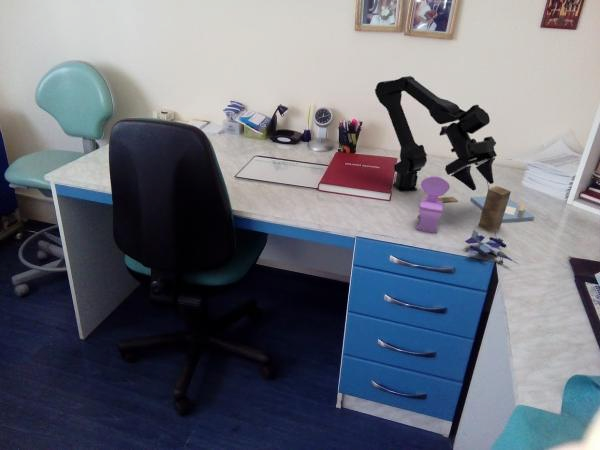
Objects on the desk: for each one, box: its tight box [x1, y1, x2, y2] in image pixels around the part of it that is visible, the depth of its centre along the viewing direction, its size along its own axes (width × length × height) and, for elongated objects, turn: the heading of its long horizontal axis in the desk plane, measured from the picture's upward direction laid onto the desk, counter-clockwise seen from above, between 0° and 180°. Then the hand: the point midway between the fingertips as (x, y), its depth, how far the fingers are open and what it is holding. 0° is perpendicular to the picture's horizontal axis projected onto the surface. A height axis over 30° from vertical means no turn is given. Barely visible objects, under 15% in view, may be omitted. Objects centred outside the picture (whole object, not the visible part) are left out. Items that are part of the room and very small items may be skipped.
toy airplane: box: [464, 229, 519, 265], centre depth 128 cm, size 13×14×4 cm
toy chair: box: [415, 175, 451, 234], centre depth 139 cm, size 8×9×15 cm
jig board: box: [470, 195, 535, 224], centre depth 154 cm, size 13×16×4 cm
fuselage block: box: [477, 185, 512, 233], centre depth 141 cm, size 5×5×12 cm
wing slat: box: [437, 196, 459, 204], centre depth 159 cm, size 9×3×1 cm, turn 105°
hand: (483, 186), depth 142 cm, fingers open, 9 cm apart
